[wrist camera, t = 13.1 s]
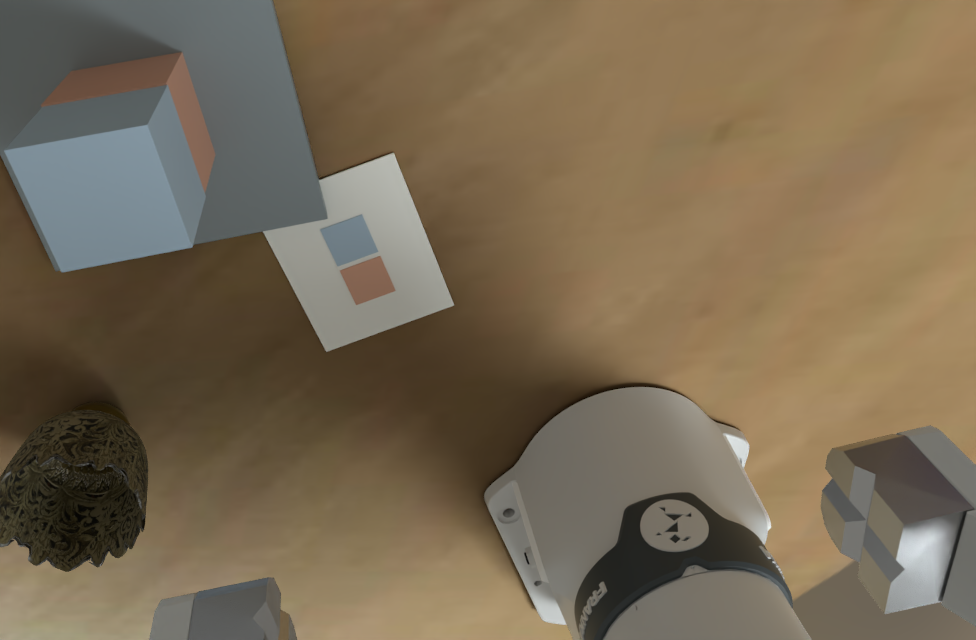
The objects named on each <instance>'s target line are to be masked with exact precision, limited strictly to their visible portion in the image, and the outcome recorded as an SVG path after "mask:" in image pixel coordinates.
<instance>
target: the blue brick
mask: <svg viewBox="0 0 976 640" xmlns="http://www.w3.org/2000/svg"><path fill="white" fill-rule="evenodd" d="M4 152H5V154H6V156H7V158H8V160H9V162H10V164H11V166H12V169H13V171H14V173H15V175H16V177H17V179H18V181H19V183H20V186H21V188H22V190H23V192H24V194H25V196H26V198H27V200H28V202H29V205H30V207H31V209H32V211H33V213H34V215H35V217H36V219H37V221H38V224H39V226H40V228H41V230H42V232H43V234H44V236H45V238H46V240H47V243H48V245H49V247H50V249H51V251H52V253H53V255H54V257H55V259H56V262H57V264H58V266H59V268H60V270H61V272H62V273H63V272H68V271H73V270H78V269H83V268H88V267H94V266H99V265H104V264H109V263H114V262H120V261H125V260H130V259H135V258H140V257H146V256H151V255H156V254H161V253H166V252H172V251H177V250H182V249H187V248H192V247H193V243H194V239H195V236H196V232H197V228H198V224H199V221H200V217H201V213H202V209H203V206H204V202H205V198H206V195H205V192H204V189H203V186H202V183H201V180H200V178H199V175H198V172H197V169H196V166H195V163H194V160H193V157H192V154H191V151H190V148H189V145H188V142H187V140H186V137H185V134H184V131H183V128H182V125H181V122H180V119H179V116H178V113H177V110H176V107H175V104H174V102H173V99H172V96H171V93H170V90H169V87H168V85H164V86H158V87H152V88H147V89H141V90H135V91H129V92H124V93H118V94H112V95H107V96H101V97H95V98H90V99H84V100H78V101H73V102H67V103H61V104H56V105H50V106H44V107H42V108H41V109H40V110H39V111H38V113H37V114H36V115H35V116H34V117H33V118H32V119H31V120H30V122H29V123H28V124H27V125H26V126H25V127H24V128H23V130H22V131H21V132H20V133H19V134H18V135H17V136H16V138H15V139H14V140H13V141H12V142H11V143H10V144H9V145H8V147H7V148H6V149H5V150H4Z"/></svg>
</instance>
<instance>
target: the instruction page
mask: <svg viewBox="0 0 976 640" xmlns="http://www.w3.org/2000/svg"><path fill="white" fill-rule="evenodd" d="M319 182H320V186H321V190H322V194H323V198H324V202H325V206H326V210H327V214H328V219H325V220H320V221H314V222H309V223H304V224H299V225H294V226H289V227H283V228H278V229H273V230H268V231H263V233H264V235H265V237H266V239H267V240H268V242H269V244H270V246H271V248H272V250H273V252H274V254H275V256H276V258H277V259H278V261H279V263H280V265H281V267H282V269H283V271H284V273H285V275H286V276H287V278H288V280H289V282H290V284H291V286H292V288H293V290H294V292H295V294H296V295H297V297H298V299H299V301H300V303H301V305H302V307H303V309H304V311H305V313H306V314H307V316H308V318H309V320H310V322H311V324H312V326H313V328H314V330H315V331H316V333H317V335H318V337H319V339H320V341H321V343H322V345H323V347H324V349H325V350H326V352H328V351H331V350H333V349H336V348H339V347H342V346H344V345H347V344H350V343H353V342H355V341H358V340H361V339H364V338H366V337H369V336H372V335H375V334H377V333H380V332H383V331H385V330H388V329H391V328H394V327H396V326H399V325H402V324H405V323H407V322H410V321H413V320H416V319H418V318H421V317H424V316H427V315H429V314H432V313H435V312H438V311H440V310H443V309H446V308H449V307H451V306H454V303H453V301H452V298H451V296H450V293H449V291H448V288H447V286H446V283H445V280H444V278H443V275H442V273H441V270H440V268H439V265H438V263H437V260H436V258H435V255H434V253H433V250H432V248H431V245H430V243H429V240H428V238H427V235H426V233H425V230H424V228H423V225H422V223H421V220H420V218H419V215H418V213H417V210H416V208H415V205H414V203H413V200H412V198H411V195H410V193H409V190H408V188H407V185H406V182H405V180H404V177H403V175H402V172H401V170H400V167H399V165H398V162H397V160H396V157H395V155H394V152H393V153H391V154H388V155H385V156H382V157H380V158H377V159H374V160H372V161H369V162H366V163H363V164H361V165H358V166H355V167H352V168H350V169H347V170H344V171H342V172H339V173H336V174H333V175H331V176H328V177H325V178H323V179H320V180H319Z"/></svg>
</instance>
